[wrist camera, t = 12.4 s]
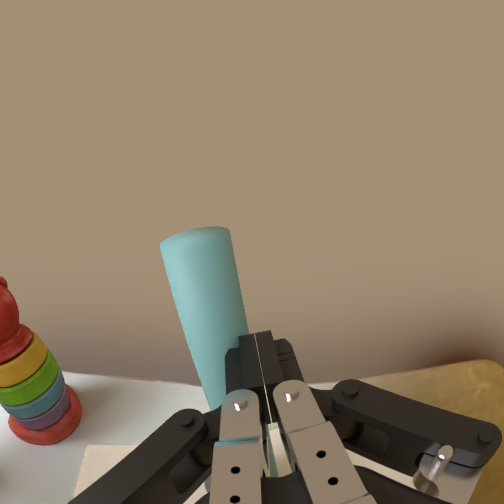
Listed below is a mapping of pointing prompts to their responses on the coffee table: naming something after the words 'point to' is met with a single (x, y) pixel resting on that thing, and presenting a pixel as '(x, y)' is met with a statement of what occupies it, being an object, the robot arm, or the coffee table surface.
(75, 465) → the coffee table surface
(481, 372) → the coffee table surface
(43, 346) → the stacking bear
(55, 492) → the coffee table surface
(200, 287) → the l-shaped post
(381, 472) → the card
